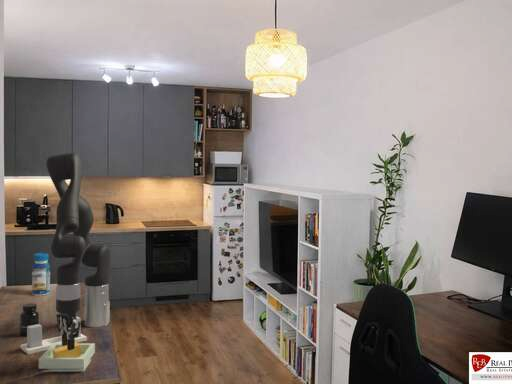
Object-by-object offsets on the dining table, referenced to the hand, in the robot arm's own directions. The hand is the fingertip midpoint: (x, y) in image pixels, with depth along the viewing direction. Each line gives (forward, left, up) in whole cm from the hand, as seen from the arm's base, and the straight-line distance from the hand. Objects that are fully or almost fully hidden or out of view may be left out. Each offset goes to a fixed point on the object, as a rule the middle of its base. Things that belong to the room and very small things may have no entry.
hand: (68, 347), depth 166 cm
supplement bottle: (+22, -26, -5) cm, 34 cm away
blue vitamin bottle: (+39, -87, -5) cm, 95 cm away
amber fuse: (+3, +3, -2) cm, 5 cm away
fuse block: (+9, -14, -5) cm, 18 cm away
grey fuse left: (+14, -10, -4) cm, 18 cm away
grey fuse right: (+4, -19, -4) cm, 20 cm away
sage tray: (0, 0, -5) cm, 5 cm away
